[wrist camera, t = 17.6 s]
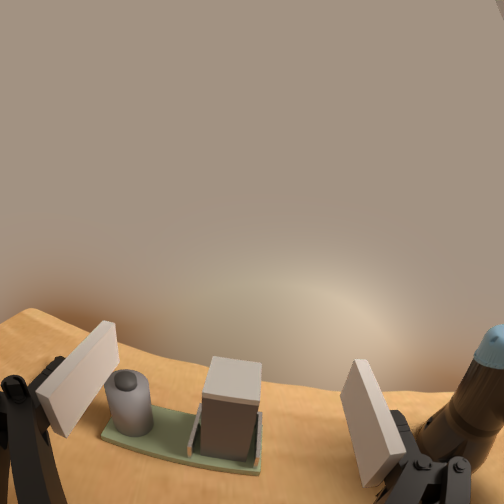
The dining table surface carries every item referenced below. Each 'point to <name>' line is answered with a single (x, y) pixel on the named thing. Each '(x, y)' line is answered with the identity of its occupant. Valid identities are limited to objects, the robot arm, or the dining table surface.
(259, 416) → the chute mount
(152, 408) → the desk organizer stand
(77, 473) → the dining table surface
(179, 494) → the dining table surface
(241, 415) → the grey block
